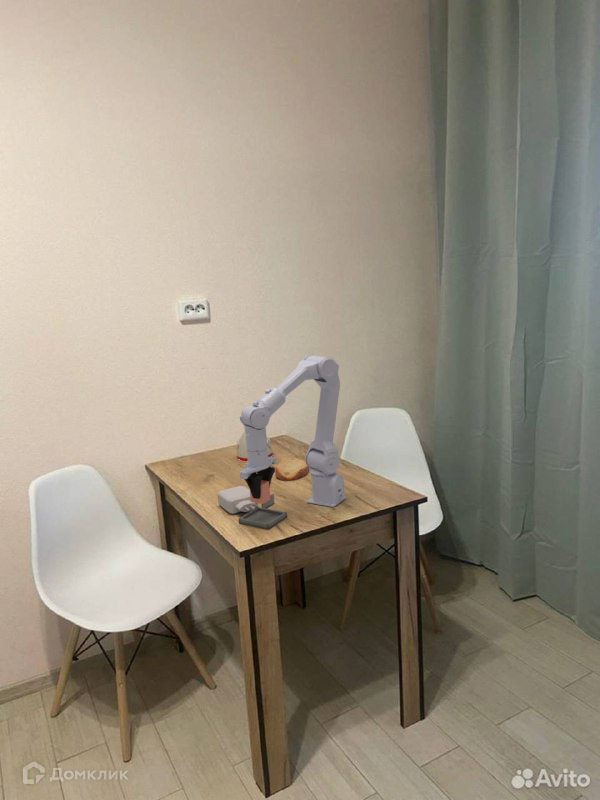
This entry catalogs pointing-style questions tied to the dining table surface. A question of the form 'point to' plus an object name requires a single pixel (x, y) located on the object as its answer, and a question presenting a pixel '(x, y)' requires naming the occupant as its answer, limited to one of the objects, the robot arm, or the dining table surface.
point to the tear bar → (269, 502)
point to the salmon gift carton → (262, 493)
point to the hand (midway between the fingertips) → (260, 495)
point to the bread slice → (291, 469)
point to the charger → (236, 500)
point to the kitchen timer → (243, 449)
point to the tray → (262, 518)
